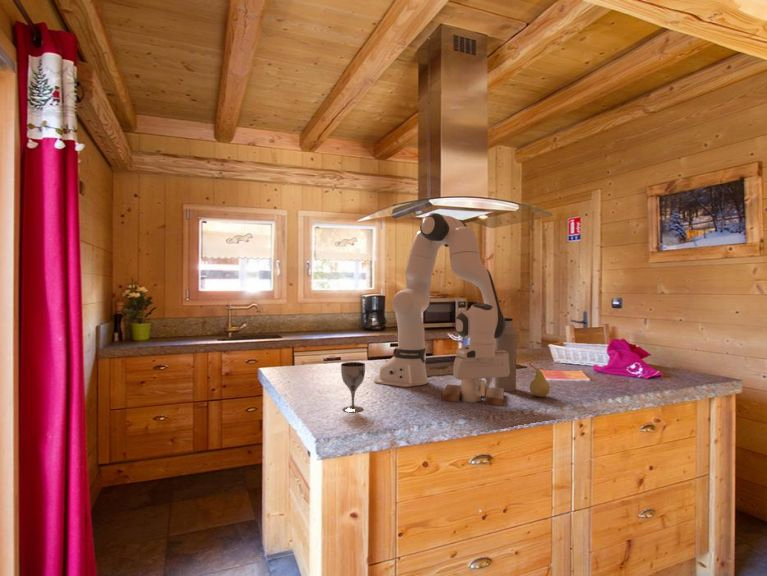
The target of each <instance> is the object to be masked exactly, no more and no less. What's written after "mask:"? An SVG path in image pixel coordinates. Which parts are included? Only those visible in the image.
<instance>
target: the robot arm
mask: <svg viewBox="0 0 767 576" xmlns="http://www.w3.org/2000/svg"><path fill="white" fill-rule="evenodd" d="M442 246H444V247H445V248H449V264H450V268H451V271H452V273H453V274H454V275H455V276H457V278H459V279H460V280H462V281H465V282H468V283H471V284H472V285H474V286H476V287H477V288H478V289H479V291H480V293H481V297H482V300H483V302H480V303H479V302H476V303H473V304H472V305H471V306H470V308H469V309H468V310H465V311H463V312H460V313H459V314H458V315H457V316H456V318H455V320H454V321H455V322H454V329H455V332H456V334H457V335H458V336H459V337H460V338H463V339H465V338H466V339H469V341H468V344H467V345H466V346H461V347H460V348H457V349H456V350H455V355H456V357H455V358H454V361H453V369H452V371H453V372H452V373H453V377H454V378H455V379H456V380H459V381H461V380H464V379H472V382H473V384H474V385H475V391H481V386H479V385H478V384H477V382H478V379H479V378H481V379H485V380H486V381H485V391H488V390H489V388H490V385H491V384H492V381H493V379H495V377H507V376H508V375H509V374H510V368H509V361H508V360H509V354H508V352H507V351H505V350H495V340H496V339H497V338H499V337H500V336H501V335H502V334H503V332H504V331H505V329H506V322H505V319H504V318H505V317H504V314H503V311H502V309H501V306H500V303H499V299H498V295H497V291H496V288H495V283H494V281H493V280H494V279H493V277H492V274H491V272H490V270H488V269H487V268H486V267H485V266H484V264H483V262H482V259H481V256H480V255H481V254H480V248H479V243H478V238H477V236H476V232H475V230H474V229H472V228H471V227H469V226H468V225H467V224H466V222H464V221H463V220H461V219H458V218H456V217H453V216H450V215H444V214H440V213H435V212H432V213H430V212H429V213H427V214H426V215H424V217H422V219H421V221H420V225H419V230H418V231H417V233H416V234H415V236H414V238H413V241H412V244H411V247H410V251H409V255H408V258H407V263H406V268H405V271H404V273H405V288H404V289H401V290H399V291H398V292H396V293H395V294H394V296H393V297H392V300H391V306H392V309H393V311H394V314H395V319H396V324H397V345H398V346H395V347H394V349H393V350H392V354H393V356H392V357H391V358H390V359H388V360H387V361H385V362H384V363H383V364H382V365H381V366H380V370H379V374H378V375H377V376H375V377H374V378H373V382H374V383H375V384H382V385H388V386H389V385H390V386H396V387H404V388H408V387H409V388H410V387H413V386H421V385H427V384H428V383H429V380H428V375H427V372H426V371H427V370H426V361H427V360H426V359H427V358H426V357H427V353H426V352H427V350H426V348H425V346H426V345H425V338H426V337H425V333H426V332H425V327H424V324H423V318H422V313H423V312H425V311H426V310H427V309H428V308H429V305H430V302H431V300H430V294H431V283H432V276H433V274H434V273H433V272H434V267H435V264H436V261H437V260H436V259H437V255H438V252H439V250H440V248H441V247H442ZM505 352H506V353H505Z"/></svg>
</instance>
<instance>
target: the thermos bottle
mask: <svg viewBox="0 0 767 576" xmlns="http://www.w3.org/2000/svg"><path fill="white" fill-rule="evenodd" d="M504 319H505V322H506V329H505V331H504V332H503V334H502V335H501V336H500V337H499V338H497V339H495V350H505V351H507V352H508V354H509V360H508V361H509V368H510V374H509V375H508V376H507V377H494V388H501V389H504V392H507V391H508V392H509V391H510V392H515V391H516V390H517V337H518V336H517V335H518V334H517V332H516V327H515V326H514V325H513V318H511V317H504ZM505 353H506V352H505ZM510 392H509V393H510Z"/></svg>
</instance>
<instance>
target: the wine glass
mask: <svg viewBox="0 0 767 576" xmlns="http://www.w3.org/2000/svg"><path fill="white" fill-rule="evenodd" d="M340 372H341V373H340V374H341V379H342V381H343V383H344V385H345V386H346V388H348V389H349V391H350V395H351V405H348V406H345V407H343V408H342V409H341V411H342V410H343V411H342V412H344V413H348V412H349V413H350V414H353V413H355V414H356V412H357V413H361V412H364V410H365V409H364V408H363V407H361V406H357V405H355V395H356V391H357V389H358V388H359V387H360V386H361V384H362V383H363V382H364V379H365V374H366V363H364V362H359V361H347V362H342V363H341V364H340Z"/></svg>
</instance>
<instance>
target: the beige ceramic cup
mask: <svg viewBox="0 0 767 576" xmlns="http://www.w3.org/2000/svg"><path fill="white" fill-rule="evenodd" d="M460 381H461V383H460V384H461V398H460V400H461V399H462V400H463V401H462V400H461V401H462V402H465V401H467V403H478V402H477V401H480V402H481V401H482V397H481V396H485V383H486V381H485V380H483V379H482V378H479V379H478V382H477V384H478V385H479V386H481V391H475V385H474V384H473V382H472V379H464V380H460Z"/></svg>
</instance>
